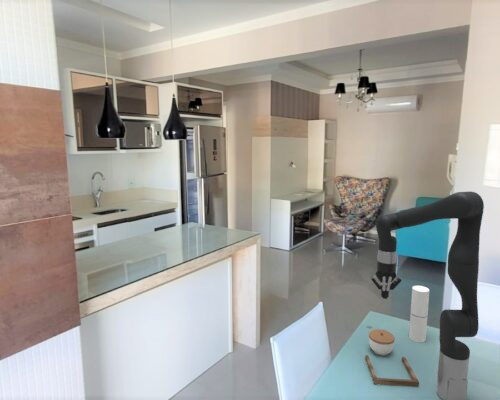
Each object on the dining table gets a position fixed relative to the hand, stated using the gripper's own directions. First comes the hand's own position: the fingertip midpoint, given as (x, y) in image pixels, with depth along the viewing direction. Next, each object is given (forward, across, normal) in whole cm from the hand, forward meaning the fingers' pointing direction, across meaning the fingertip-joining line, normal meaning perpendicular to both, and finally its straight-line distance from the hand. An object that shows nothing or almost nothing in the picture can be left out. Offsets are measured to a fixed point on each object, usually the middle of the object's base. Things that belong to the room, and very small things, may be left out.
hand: (384, 298), depth 150 cm
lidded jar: (+25, -1, 0) cm, 25 cm away
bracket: (+25, 0, -14) cm, 29 cm away
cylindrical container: (+25, +19, +12) cm, 34 cm away
